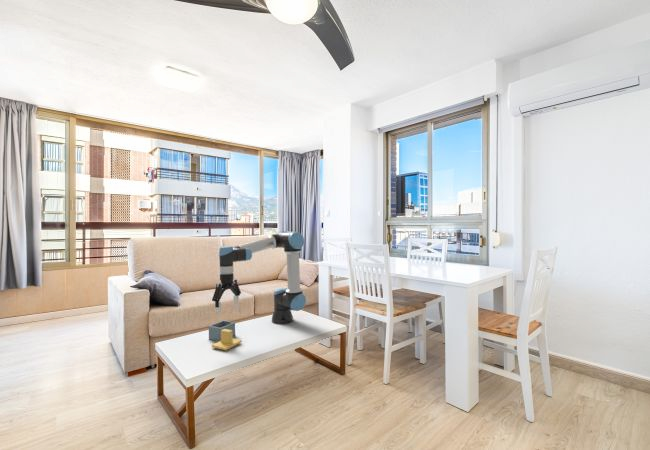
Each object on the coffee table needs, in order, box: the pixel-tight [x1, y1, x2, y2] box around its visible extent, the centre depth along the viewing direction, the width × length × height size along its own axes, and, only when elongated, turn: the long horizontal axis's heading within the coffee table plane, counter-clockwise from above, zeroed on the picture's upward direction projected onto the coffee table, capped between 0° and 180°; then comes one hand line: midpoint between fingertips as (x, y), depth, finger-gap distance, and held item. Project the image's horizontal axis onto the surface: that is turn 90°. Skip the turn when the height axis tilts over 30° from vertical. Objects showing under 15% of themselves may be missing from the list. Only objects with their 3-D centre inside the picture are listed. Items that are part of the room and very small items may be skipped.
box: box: [208, 319, 236, 342], centre depth 192 cm, size 12×10×8 cm
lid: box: [211, 329, 243, 351], centre depth 178 cm, size 13×11×9 cm
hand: (227, 309), depth 178 cm, fingers open, 13 cm apart
